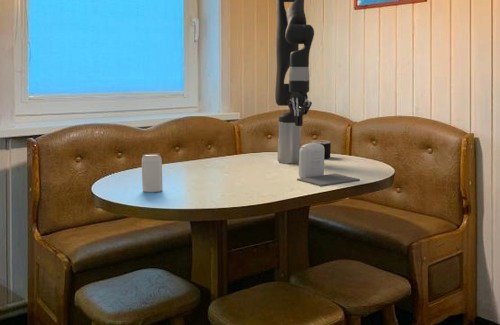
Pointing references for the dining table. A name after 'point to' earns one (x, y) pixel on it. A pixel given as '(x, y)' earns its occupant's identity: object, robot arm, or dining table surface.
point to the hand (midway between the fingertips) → (298, 125)
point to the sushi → (326, 146)
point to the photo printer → (311, 160)
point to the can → (152, 172)
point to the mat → (328, 179)
